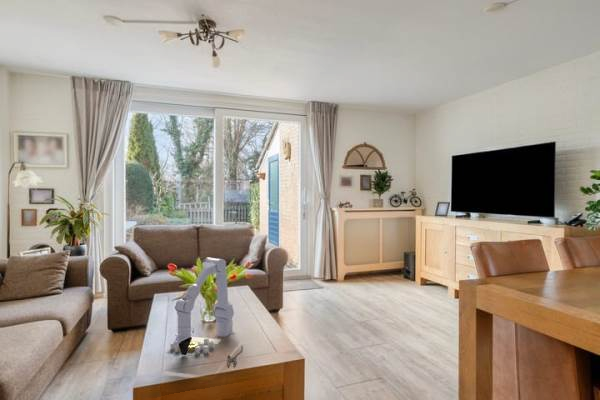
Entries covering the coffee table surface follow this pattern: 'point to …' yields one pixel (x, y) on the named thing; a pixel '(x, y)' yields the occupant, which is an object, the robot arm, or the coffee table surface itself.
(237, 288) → the coffee table surface
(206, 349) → the spacer board
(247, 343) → the coffee table surface
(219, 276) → the robot arm
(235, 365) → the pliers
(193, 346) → the nut
